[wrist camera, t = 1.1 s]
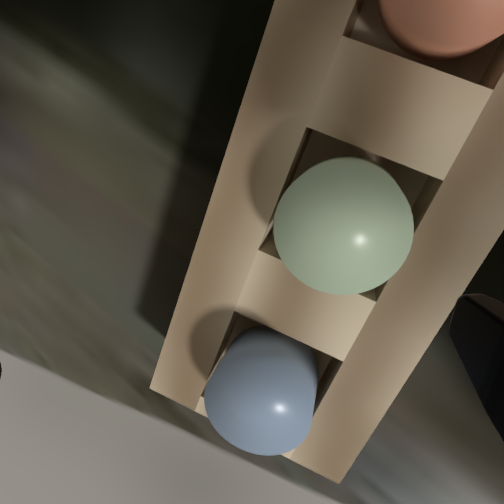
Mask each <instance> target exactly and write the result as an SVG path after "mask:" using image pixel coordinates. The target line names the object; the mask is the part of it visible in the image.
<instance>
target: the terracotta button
mask: <svg viewBox="0 0 504 504" xmlns="http://www.w3.org/2000/svg"><path fill="white" fill-rule="evenodd" d="M378 8H379V14H380V17H381V21H382V23H383V26H384V28H385V30H386V32H387V33H388V35H389V37H390V38H391V39H392V40H393V42H394V43H395V44H396V45H397V46H398V47H400V48H401V49H402V50H404V51H405V52H407V53H408V54H410V55H413V56H415V57H417V58H421V59H425V60H432V61H444V60H451V59H456V58H459V57H463V56H465V55H468V54H470V53H472V52H474V51H476V50H478V49H480V48H482V47H483V46H485V45H486V44H488V43H490V42H491V41H493V40H494V39H496V38H497V37H499V36H500V35H502V34H504V0H378Z"/></svg>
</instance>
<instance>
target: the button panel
mask: <svg viewBox="0 0 504 504" xmlns="http://www.w3.org/2000/svg"><path fill="white" fill-rule="evenodd" d="M340 155H354V156H360V157H364V158H367V159H370V160H372V161H374V162H376V163H377V164H379V165H380V166H382V167H383V168H384V169H386V170H387V171H388V172H389V173H390V175H391V176H392V177H393V178H394V180H395V181H396V183H397V184H398V186H399V187H400V189H401V191H402V192H403V194H404V195H405V197H406V199H407V201H408V203H409V205H410V208H411V212H412V215H413V222H414V235H413V241H412V245H411V248H410V251H409V254H408V256H407V258H406V260H405V261H404V263H403V264H402V266H401V267H400V269H399V270H398V271H397V272H396V273H395V274H394V275H393V276H392V277H391V278H390V279H389V280H387V281H386V282H384V283H383V284H381V285H380V286H378V287H376V288H374V289H371V290H369V291H366V292H362V293H358V294H351V295H335V294H329V293H325V292H321V291H318V290H316V289H313V288H311V287H309V286H307V285H306V284H304V283H303V282H301V281H300V280H298V279H297V278H296V277H295V276H294V275H293V274H292V273H291V272H290V271H289V270H288V269H287V267H286V266H285V264H284V263H283V262H282V260H281V258H280V256H279V254H278V251H277V248H276V245H275V240H274V232H273V225H274V217H275V212H276V209H277V206H278V204H279V202H280V199H281V197H282V196H283V194H284V193H285V191H286V190H287V189H288V187H289V186H290V185H291V184H292V183H293V182H294V181H295V180H296V179H297V178H298V177H300V176H301V175H302V174H303V173H304V172H305V171H307V170H308V169H309V168H310V167H312V166H313V165H315V164H316V163H318V162H320V161H322V160H324V159H327V158H330V157H334V156H340ZM503 230H504V34H502V35H500V36H499V37H497V38H496V39H494V40H493V41H491V42H490V43H488V44H486V45H485V46H483V47H482V48H480V49H478V50H476V51H474V52H472V53H470V54H468V55H465V56H463V57H459V58H456V59H451V60H444V61H432V60H425V59H421V58H417V57H415V56H413V55H410V54H408V53H407V52H405V51H404V50H402V49H401V48H400V47H398V46H397V45H396V44H395V43H394V42H393V40H392V39H391V38H390V37H389V35H388V33H387V32H386V30H385V28H384V26H383V23H382V21H381V17H380V14H379V8H378V0H275V1H274V4H273V7H272V11H271V14H270V17H269V20H268V23H267V26H266V29H265V32H264V35H263V38H262V41H261V45H260V48H259V51H258V54H257V57H256V60H255V63H254V66H253V69H252V72H251V76H250V79H249V82H248V85H247V88H246V91H245V94H244V97H243V100H242V103H241V106H240V110H239V113H238V116H237V119H236V122H235V125H234V128H233V131H232V134H231V137H230V141H229V144H228V147H227V150H226V153H225V156H224V159H223V162H222V165H221V168H220V172H219V175H218V178H217V181H216V184H215V187H214V190H213V193H212V196H211V199H210V202H209V206H208V209H207V212H206V215H205V218H204V221H203V224H202V227H201V230H200V233H199V237H198V240H197V243H196V246H195V249H194V252H193V255H192V258H191V261H190V264H189V267H188V271H187V274H186V277H185V280H184V283H183V286H182V289H181V292H180V295H179V298H178V302H177V305H176V308H175V311H174V314H173V317H172V320H171V323H170V326H169V329H168V332H167V336H166V339H165V342H164V345H163V348H162V351H161V354H160V357H159V360H158V363H157V367H156V370H155V373H154V376H153V379H152V382H151V385H150V389H152V390H154V391H156V392H158V393H160V394H162V395H164V396H166V397H168V398H170V399H172V400H174V401H176V402H178V403H180V404H182V405H184V406H186V407H188V408H190V409H192V410H194V411H196V412H198V413H200V414H202V415H204V416H205V417H207V418H208V416H207V413H206V410H205V404H204V394H205V389H206V386H207V384H208V382H209V380H210V378H211V376H212V375H213V373H214V371H215V370H216V368H217V366H218V364H219V363H220V361H221V359H222V358H223V356H224V354H225V353H226V351H227V349H228V348H229V346H230V344H231V342H232V341H233V340H234V338H235V337H236V336H237V335H238V334H239V333H241V332H242V331H244V330H246V329H248V328H250V327H253V326H258V325H266V326H268V327H270V328H272V329H274V330H277V331H279V332H281V333H283V334H285V335H287V336H289V337H292V338H294V339H296V340H298V341H300V342H302V343H304V344H307V345H309V346H310V347H311V349H312V350H313V352H314V354H315V356H316V358H317V361H318V366H319V379H318V385H317V392H316V398H315V404H314V410H313V416H312V423H311V427H310V431H309V433H308V435H307V437H306V438H305V440H304V441H303V442H302V443H301V444H300V445H299V446H297V447H296V448H295V449H293V450H291V451H289V452H286V453H283V454H281V455H283V456H285V457H287V458H288V459H290V460H292V461H294V462H296V463H298V464H300V465H302V466H304V467H306V468H308V469H310V470H312V471H314V472H316V473H318V474H320V475H322V476H324V477H326V478H328V479H330V480H332V481H334V482H336V483H338V484H340V482H341V481H342V479H343V478H344V476H345V475H346V473H347V471H348V470H349V468H350V467H351V465H352V464H353V462H354V461H355V459H356V458H357V456H358V454H359V453H360V451H361V450H362V448H363V447H364V445H365V444H366V442H367V441H368V439H369V437H370V436H371V434H372V433H373V431H374V430H375V428H376V427H377V425H378V424H379V422H380V420H381V419H382V417H383V416H384V414H385V413H386V411H387V410H388V408H389V406H390V405H391V403H392V402H393V400H394V399H395V397H396V396H397V394H398V393H399V391H400V389H401V388H402V386H403V385H404V383H405V382H406V380H407V379H408V377H409V376H410V374H411V372H412V371H413V369H414V368H415V366H416V365H417V363H418V362H419V360H420V359H421V357H422V355H423V354H424V352H425V351H426V349H427V348H428V346H429V345H430V343H431V341H432V340H433V338H434V337H435V335H436V334H437V332H438V331H439V329H440V328H441V326H442V324H443V323H444V321H445V320H446V318H447V317H448V315H449V314H450V312H451V311H452V309H453V307H454V306H455V304H456V301H457V299H458V298H459V297H460V296H461V295H462V293H463V292H464V290H465V289H466V287H467V286H468V284H469V283H470V281H471V280H472V278H473V276H474V275H475V273H476V272H477V270H478V269H479V267H480V266H481V264H482V263H483V261H484V259H485V258H486V256H487V255H488V253H489V252H490V250H491V249H492V247H493V246H494V244H495V242H496V241H497V239H498V238H499V236H500V235H501V233H502V232H503Z"/></svg>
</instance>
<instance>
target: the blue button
mask: <svg viewBox="0 0 504 504" xmlns="http://www.w3.org/2000/svg"><path fill="white" fill-rule="evenodd" d="M318 379H319V366H318V361H317V358H316V356H315V354H314V352H313V350H312V349H311V347H310V346H309V345H307V344H304V343H302V342H300V341H298V340H296V339H294V338H292V337H289V336H287V335H285V334H283V333H281V332H279V331H277V330H274V329H272V328H270V327H268V326H266V325H258V326H253V327H250V328H248V329H246V330H244V331H242V332H241V333H239V334H238V335H237V336H236V337H235V338H234V340H233V341H232V342H231V344H230V346H229V348H228V349H227V351H226V353H225V354H224V356H223V358H222V359H221V361H220V363H219V364H218V366H217V368H216V370H215V371H214V373H213V375H212V376H211V378H210V380H209V382H208V384H207V386H206V389H205V394H204V404H205V410H206V413H207V416H208V418H209V420H210V422H211V424H212V425H213V427H214V428H215V429H216V431H217V432H218V433H219V434H220V435H221V436H222V437H223V438H224V439H226V440H227V441H228V442H230V443H231V444H232V445H234V446H236V447H238V448H240V449H242V450H244V451H247V452H250V453H254V454H258V455H279V454H283V453H286V452H289V451H291V450H293V449H295V448H296V447H297V446H299V445H300V444H301V443H302V442H303V441H304V440H305V438H306V437H307V435H308V433H309V431H310V427H311V423H312V416H313V410H314V404H315V398H316V392H317V385H318Z"/></svg>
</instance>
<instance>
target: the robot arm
mask: <svg viewBox="0 0 504 504" xmlns="http://www.w3.org/2000/svg"><path fill="white" fill-rule="evenodd" d="M449 336H450V339H451V341H452V343H453V346H454V348H455V350H456V352H457V354H458V356H459V358H460V360H461V362H462V364H463V367H464V369H465V371H466V373H467V375H468V377H469V379H470V381H471V383H472V386H473V388H474V390H475V392H476V394H477V396H478V398H479V400H480V402H481V404H482V406H483V408H484V409H485V411H486V413H487V415H488V416H489V418H490V420H491V422H492V423H493V425H494V427H495V428H496V430H497V431H498V433H499V435H500V436H501V438H502V440H503V441H504V303H503V302H501V301H498V300H496V299H494V298H491V297H489V296H487V295H484V294H479V293H478V294H465V295H461V296H460V297H459V298H458V299H457V301H456V304H455V308H454V311H453V314H452V318H451V321H450V325H449ZM1 369H2V368H1V363H0V377H1V371H2V370H1Z"/></svg>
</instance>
